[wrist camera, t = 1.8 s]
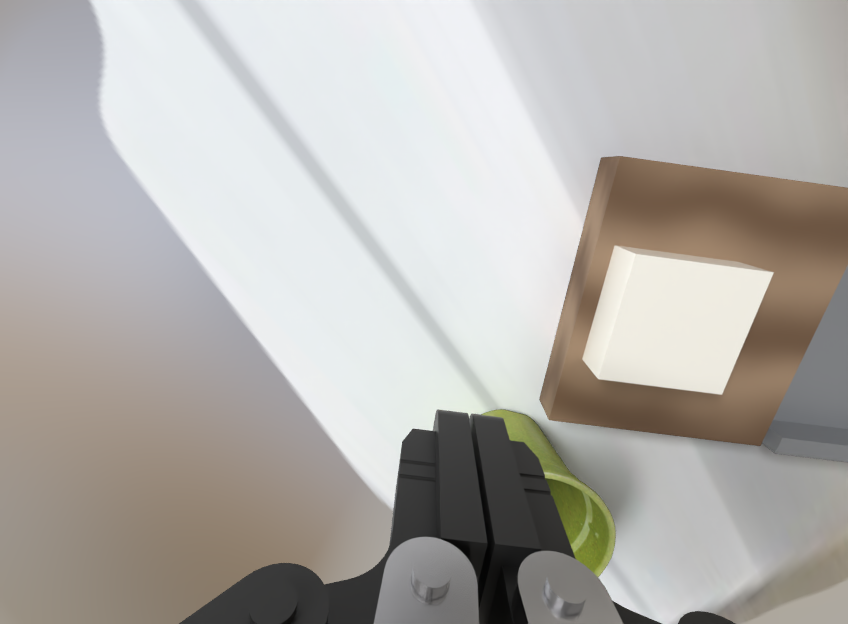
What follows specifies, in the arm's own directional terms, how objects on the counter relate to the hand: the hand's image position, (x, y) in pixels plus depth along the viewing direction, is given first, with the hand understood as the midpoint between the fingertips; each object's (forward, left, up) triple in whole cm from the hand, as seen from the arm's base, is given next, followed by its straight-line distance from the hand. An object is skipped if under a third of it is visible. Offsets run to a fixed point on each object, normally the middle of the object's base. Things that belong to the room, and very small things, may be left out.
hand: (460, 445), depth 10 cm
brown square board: (0, +15, -17) cm, 23 cm away
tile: (0, +12, -14) cm, 19 cm away
